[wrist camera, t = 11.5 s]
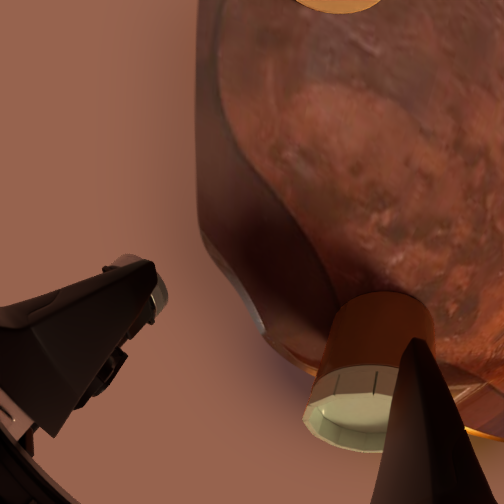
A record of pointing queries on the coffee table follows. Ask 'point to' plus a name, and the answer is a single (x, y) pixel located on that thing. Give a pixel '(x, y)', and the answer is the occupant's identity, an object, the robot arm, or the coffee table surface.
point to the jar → (364, 368)
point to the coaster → (338, 5)
